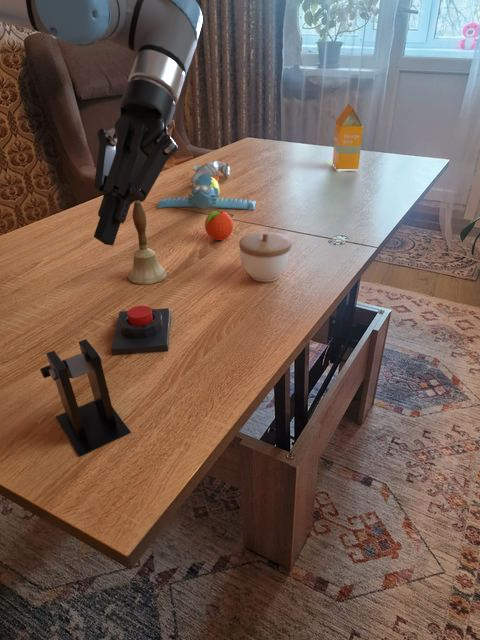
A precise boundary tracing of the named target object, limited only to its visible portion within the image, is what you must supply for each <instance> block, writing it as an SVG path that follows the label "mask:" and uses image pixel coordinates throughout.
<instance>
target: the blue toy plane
mask: <svg viewBox="0 0 480 640" xmlns="http://www.w3.org/2000/svg"><path fill="white" fill-rule="evenodd" d="M219 180H220V176H217V175H216V176H215V175H214V177H213V178H211V175H208V174H202V175H200V177H198V179H197V180H196V181H195V180H193V181H194V185H193V184H192V185H191V187H190V188H191V194H188V195H187V196H186V197H184V196H182V197H179V196H177V197H168V198H162V199H161V200H160V201H159V202H158V204H157V209H163V208H199V209H204V208H206V207H207V208H218V209H235V210H248V211H255V208H256V200H251V199H244V198H243V199H242V198H236V197H234V198H232V197H229V198H228V197H222V196H221V197H219V196H220V192H221V189H220V185H219Z"/></svg>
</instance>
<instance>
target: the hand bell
mask: <svg viewBox="0 0 480 640" xmlns="http://www.w3.org/2000/svg"><path fill="white" fill-rule="evenodd" d="M132 209H133V210H132V220H133V225H134V227H135V229H136V231H137V232H136V233H137V239H138V249H137V250H135V251H134V252H133V265H132V268H131V270H130V271H129V273H128V275H127V279H128V281H129V282H130V283H132V284H136V285H152V284H158V283H159V282H162V281H164V280H165V279H166V278H167V276H168V271H167V270H166V269H165V267H162V266H161V264H160V263H159V260H158V258H157V254H156V251H155V250H154V249H151V248H149V246H148V241H147V240H148V239H147V233H146V231H147V215H146V211H145V208H144V206H143V204H142V202H140V201H134V202H133V208H132Z"/></svg>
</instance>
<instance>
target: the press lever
mask: <svg viewBox="0 0 480 640" xmlns="http://www.w3.org/2000/svg"><path fill="white" fill-rule="evenodd" d="M61 361H62V362H63V364H64V365H65V367H66V369H67V372H68V375H69V378H70V379H76V378H79V377H81V376H85V375H87V373H89V372H90V369H89V367H88V364H87V362H86V359H85V357H84V354H82V353H77V354H75V355H72V356H68V357H67V358H63V359H61ZM50 369H51V367H50V364H49V365H46V366H44V367H41V368H40V369H39V371H40V373H41V376H42V378H43V379H46V378H50V377H51V375H50V372H49V370H50Z"/></svg>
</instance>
